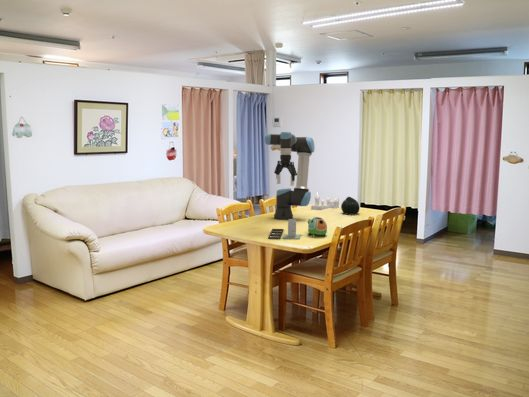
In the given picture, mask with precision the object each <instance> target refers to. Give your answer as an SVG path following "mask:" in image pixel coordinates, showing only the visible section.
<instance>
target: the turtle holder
mask: <svg viewBox="0 0 529 397" xmlns="http://www.w3.org/2000/svg"><path fill="white" fill-rule="evenodd" d="M307 224H308V226H307V227H308V229H307V232H308V233H307V235H308V236H311V235H312V238H315V237H316V235H319V236H321V235H323V236H324V237H325V236H326V237H327V233H328V225H327V222H326V221H325V219H324V218H323V217H318V216H315V217H312V218H309V219H308V220H307Z"/></svg>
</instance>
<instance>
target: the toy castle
mask: <svg viewBox="0 0 529 397" xmlns="http://www.w3.org/2000/svg"><path fill="white" fill-rule="evenodd" d="M337 197H338V198H337ZM337 197H334V200H332V199H333V198H332V196H330V197H329V196H327V198H326V205H325V200H324V198H322V199H321V200H320V195H319V192H318V190H317V191H316V194H315V196H314V202H315V203H314V205H311V206H310V208H311V209H310V210H311V211H312V210H314V211H323V210H328V209H334V210H335V209H339V208H340V197H339V196H337ZM320 201H321V205H320Z"/></svg>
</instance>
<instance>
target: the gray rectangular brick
mask: <svg viewBox="0 0 529 397" xmlns="http://www.w3.org/2000/svg"><path fill="white" fill-rule="evenodd" d="M287 234H288V237H296V235H297V218H293V219H288V220H287Z"/></svg>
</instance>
